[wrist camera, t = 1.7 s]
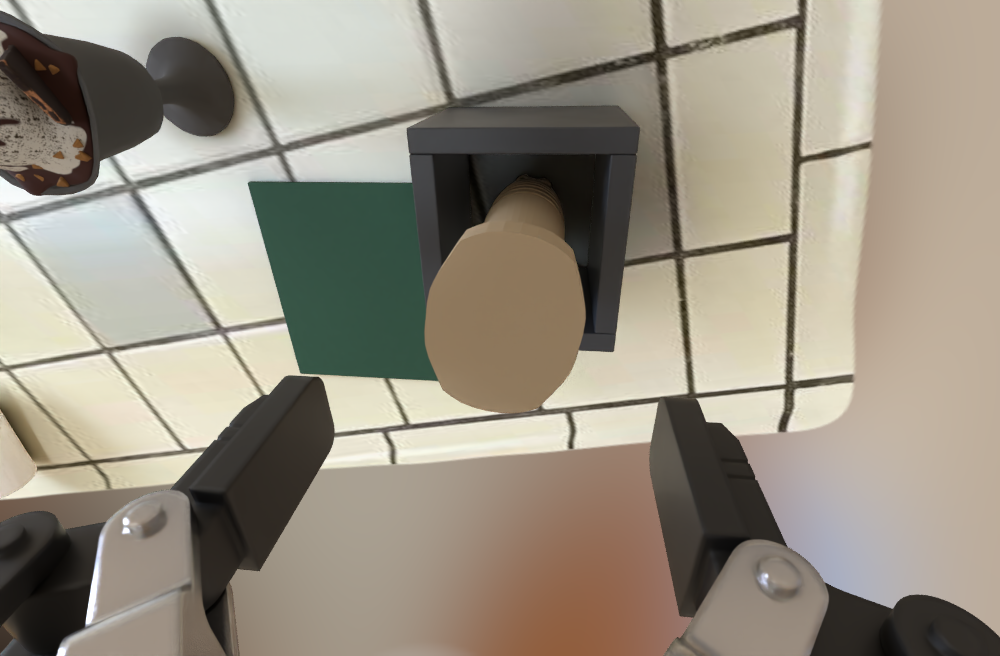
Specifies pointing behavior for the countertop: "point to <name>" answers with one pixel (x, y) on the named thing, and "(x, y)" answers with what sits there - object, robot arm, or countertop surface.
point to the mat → (347, 275)
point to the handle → (508, 305)
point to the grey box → (530, 131)
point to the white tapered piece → (13, 461)
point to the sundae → (95, 103)
